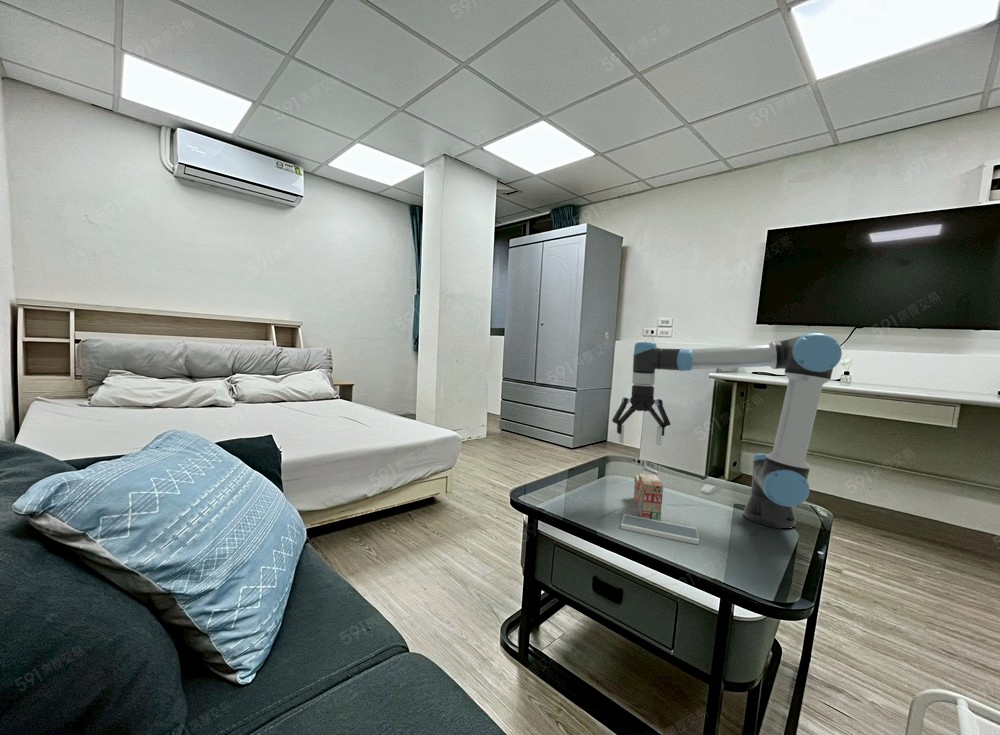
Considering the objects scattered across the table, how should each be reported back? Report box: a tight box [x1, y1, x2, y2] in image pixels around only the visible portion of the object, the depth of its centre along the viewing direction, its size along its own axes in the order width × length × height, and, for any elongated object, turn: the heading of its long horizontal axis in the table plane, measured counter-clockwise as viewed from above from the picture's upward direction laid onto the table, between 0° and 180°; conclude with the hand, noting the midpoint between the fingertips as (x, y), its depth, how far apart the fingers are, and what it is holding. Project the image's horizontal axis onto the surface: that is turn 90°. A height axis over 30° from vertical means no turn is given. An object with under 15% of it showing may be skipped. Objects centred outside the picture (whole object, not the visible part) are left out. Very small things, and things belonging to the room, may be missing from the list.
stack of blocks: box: [633, 473, 664, 521], centre depth 145 cm, size 21×6×12 cm, turn 168°
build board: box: [620, 513, 700, 545], centre depth 127 cm, size 22×10×1 cm, turn 67°
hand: (639, 443), depth 146 cm, fingers open, 13 cm apart
